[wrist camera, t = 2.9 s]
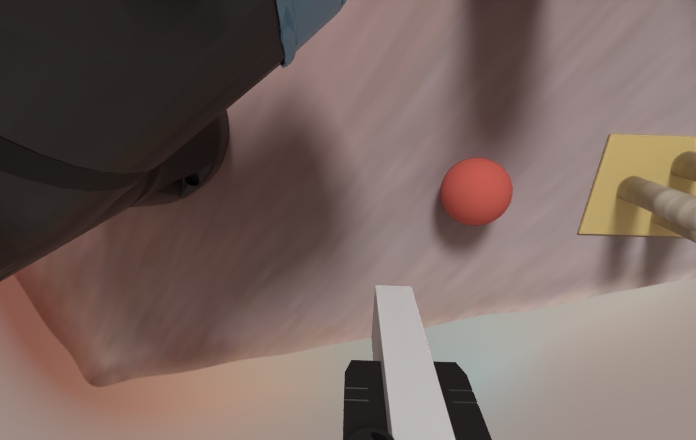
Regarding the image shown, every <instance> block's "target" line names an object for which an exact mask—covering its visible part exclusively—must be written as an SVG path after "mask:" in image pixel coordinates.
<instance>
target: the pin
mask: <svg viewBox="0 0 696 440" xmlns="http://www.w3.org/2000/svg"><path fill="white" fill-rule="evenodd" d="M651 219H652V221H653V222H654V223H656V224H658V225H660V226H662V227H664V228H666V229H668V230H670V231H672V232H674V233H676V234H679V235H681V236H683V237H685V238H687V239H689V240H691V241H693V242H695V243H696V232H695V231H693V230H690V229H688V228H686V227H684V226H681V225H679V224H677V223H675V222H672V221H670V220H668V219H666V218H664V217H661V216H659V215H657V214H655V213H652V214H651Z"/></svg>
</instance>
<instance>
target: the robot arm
mask: <svg viewBox="0 0 696 440" xmlns="http://www.w3.org/2000/svg"><path fill="white" fill-rule="evenodd" d="M345 2H346V0H0V281H2V280H4V279H5V278H7V277H9V276H11V275H13V274H14V273H16V272H18V271H20V270H21V269H23V268H25V267H26V266H28V265H30V264H32V263H33V262H35V261H37V260H39V259H40V258H42V257H44V256H45V255H47V254H49V253H51V252H52V251H54V250H56V249H58V248H59V247H61V246H63V245H65V244H66V243H68V242H70V241H71V240H73V239H75V238H77V237H78V236H80V235H82V234H84V233H85V232H87V231H89V230H91V229H92V228H94V227H96V226H97V225H99V224H101V223H103V222H104V221H106V220H108V219H110V218H111V217H113V216H115V215H116V214H118V213H120V212H122V211H123V210H125V209H126V208H128V207H138V206H150V205H161V204H167V203H171V202H174V201H177V200H180V199H182V198H185V197H187V196H189V195H190V194H192V193H193V192H195V191H196V190H198V189H199V188H200V187H202V186H203V185H204V184H206V183H207V182H208V181H209V180H210V179H211V178H212V177H213V176H214V174H215V173H216V172H217V170H218V169H219V167H220V165H221V163H222V161H223V158H224V156H225V153H226V149H227V144H228V118H227V113H226V109H227V108H229V107H230V106H231V105H232V104H233V103H235V102H236V101H237V100H238V99H239V98H241V97H242V96H243V95H244V94H245V93H247V92H248V91H249V90H250V89H251V88H253V87H254V86H255V85H256V84H257V83H259V82H260V81H261V80H262V79H263V78H265V77H266V76H267V75H268V74H269V73H271V72H272V71H273V70H274V69H275V68H277V67H278V66H279V65H281V66H282V67H283V68H284V67H287V66H288V65H289V64H290V63H291V62H292V61H293V59H294V57H295V53H296V51H297V50H298V49H299V48H300V47H302V46H303V45H304V44H305V43H306V42H307V41H308V40H309V39H310V38H311V37H312V36H314V35H315V34H316V33H317V32H318V31H319V30H320V29H321V28H322V27H323V26H324V25H326V24H327V23H328V22H329V21H330V20H331V19H332V18H333V17H334V16H335V15H336V14H337V13H338V12H339V11H340V10H341V8H342V7H343V5H344V4H345ZM372 348H373V361H362V360H361V361H360V360H351V362H350V364H349V366H348V368H347V369H346V371H345V387H344V421H343V422H344V423H343V440H492V439H491V437H490V434H489V432H488V429H487V426H486V424H485V421H484V419H483V417H482V413H481V411H480V408H479V406H478V404H477V401H476V398H475V395H474V393H473V392H472V388H471V385H470V383H469V380H468V377H467V375H466V374H465V373H464V371H463V370H462V369H461V368H460V367H459V366H458V365H457V364H456V362H433V360H432V356H431V353H430V349H429V346H428V343H427V339H426V336H425V332H424V329H423V325H422V322H421V318H420V315H419V311H418V308H417V304H416V301H415V297H414V294H413V290H412V287H409V286H377V285H375V297H374V311H373V325H372Z"/></svg>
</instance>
